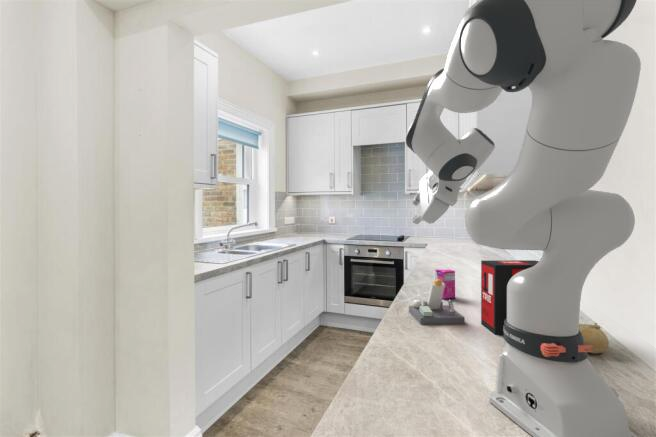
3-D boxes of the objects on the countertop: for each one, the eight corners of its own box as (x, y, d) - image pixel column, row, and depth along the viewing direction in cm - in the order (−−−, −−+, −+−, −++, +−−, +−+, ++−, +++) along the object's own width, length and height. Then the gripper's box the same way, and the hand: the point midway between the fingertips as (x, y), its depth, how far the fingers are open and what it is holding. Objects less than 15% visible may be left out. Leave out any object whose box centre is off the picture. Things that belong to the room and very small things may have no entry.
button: (422, 307, 110) (422, 301, 110) (414, 307, 110) (414, 302, 110) (420, 305, 113) (420, 299, 113) (412, 305, 113) (412, 299, 113)
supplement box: (434, 296, 133) (434, 269, 133) (446, 295, 135) (446, 268, 135) (443, 300, 128) (443, 271, 128) (455, 298, 129) (455, 270, 129)
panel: (464, 323, 101) (464, 308, 101) (420, 324, 100) (420, 309, 100) (447, 310, 114) (447, 297, 114) (408, 311, 113) (408, 298, 113)
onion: (590, 359, 76) (590, 329, 76) (559, 345, 84) (560, 318, 84) (617, 356, 78) (617, 327, 78) (584, 343, 86) (585, 316, 85)
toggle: (455, 313, 103) (453, 299, 105) (450, 313, 103) (448, 299, 105) (454, 313, 104) (452, 300, 106) (449, 313, 104) (446, 300, 106)
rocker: (432, 315, 101) (432, 311, 101) (423, 316, 101) (423, 312, 101) (427, 310, 105) (428, 306, 105) (419, 310, 105) (419, 306, 105)
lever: (439, 310, 108) (446, 282, 102) (427, 311, 108) (434, 282, 102) (437, 305, 110) (443, 277, 104) (425, 306, 110) (431, 277, 104)
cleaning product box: (534, 324, 100) (535, 260, 99) (554, 335, 91) (554, 265, 91) (481, 324, 100) (481, 260, 100) (495, 334, 91) (495, 265, 91)
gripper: (432, 157, 98) (406, 189, 107) (437, 195, 83) (405, 228, 91) (449, 167, 99) (421, 198, 108) (457, 206, 84) (424, 238, 92)
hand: (414, 212), depth 100 cm, fingers open, 8 cm apart
